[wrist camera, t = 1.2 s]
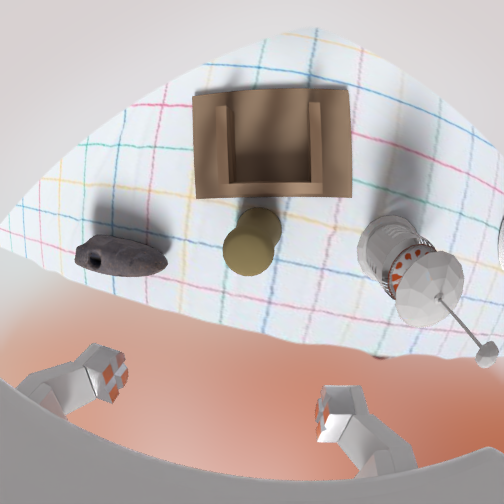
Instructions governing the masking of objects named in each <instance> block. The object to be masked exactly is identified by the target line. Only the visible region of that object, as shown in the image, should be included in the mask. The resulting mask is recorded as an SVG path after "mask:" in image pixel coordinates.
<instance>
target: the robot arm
mask: <svg viewBox="0 0 504 504" xmlns="http://www.w3.org/2000/svg"><path fill="white" fill-rule="evenodd" d="M498 252H499V260H500V264H501V267H502V269H503V271H504V220H503V223H502V226H501V230H500V236H499V245H498ZM124 361H125V356H124V353H122V352H120V351H117V350H114V349H111V348H108V347H105V346H102V345H99V344H96V343H92V344H91V345H90V346H89V347H88V348H87V349H86V350H85V351H84V352H83V353H82V354H81V355H80V356H79V357H78V358H77V359H76V360H75V361H74V362H71V361H70V362H67V363H64V364H61V365H58V366H55V367H51V368H48V369H45V370H42V371H38V372H35V373H31V374H29V375H28V376H27V377H26V378H25V379H24V380H23V381H22V382H21V383H20V384H19V385H18V386H17V387H16V388H13V387H12V386H11V385H10V384H8V383H7V382H5V381H4V380H3V379H1V378H0V504H504V454H503V453H502V452H500V451H498V450H497V449H494V448H492V447H485V448H482V449H479V450H476V451H474V452H471V453H468V454H466V455H463V456H460V457H457V458H454V459H451V460H447V461H444V462H441V463H437V464H434V465H430V466H426V467H422V468H418V466H417V463H416V460H415V456H414V453H413V450H412V447H411V445H410V444H409V443H408V442H406V441H405V440H404V439H402V438H401V437H400V436H399V435H398V434H396V433H395V432H394V431H393V430H391V429H390V428H389V427H388V426H386V425H385V424H384V423H383V422H382V421H380V420H379V419H378V418H377V417H376V416H374V415H373V414H369V411H368V407H367V404H366V400H365V397H364V393H363V390H362V387H361V386H360V385H359V386H332V385H324V386H323V387H322V390H321V398H320V399H318V402H317V404H316V409H315V421H316V422H317V423H318V426H317V428H316V436H317V442H338V444H339V446H340V447H341V448H342V450H343V451H344V452H345V453H346V455H347V456H348V457H349V458H350V459H351V461H352V462H353V463H354V464H355V466H357V468H358V469H359V470H360V471H359V472H358V474H357V475H356V476H355V477H354V478H353V479H344V480H326V481H324V480H323V481H294V480H293V481H292V480H274V479H261V478H251V477H243V476H235V475H229V474H223V473H217V472H212V471H207V470H202V469H197V468H193V467H188V466H184V465H180V464H176V463H172V462H169V461H166V460H162V459H158V458H155V457H152V456H149V455H146V454H143V453H140V452H137V451H134V450H132V449H129V448H126V447H124V446H121V445H118V444H116V443H113V442H111V441H109V440H106V439H104V438H101V437H99V436H97V435H95V434H93V433H90V432H88V431H86V430H84V429H82V428H80V427H78V426H76V425H74V424H72V423H70V422H69V421H68V419H67V418H66V416H65V415H66V414H68V413H70V412H72V411H74V410H76V409H78V408H80V407H82V406H84V405H86V404H87V403H89V402H91V401H93V400H95V399H96V398H98V399H101V400H103V401H106V402H109V403H113V402H114V401H115V399H116V398H117V396H118V395H119V391H118V389H120V388H123V387H124V386H125V384H126V383H127V379H128V369H127V367H126V365H125V364H124V363H123V362H124Z"/></svg>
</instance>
